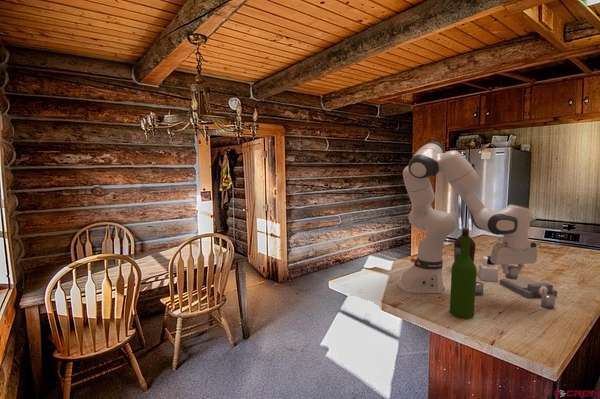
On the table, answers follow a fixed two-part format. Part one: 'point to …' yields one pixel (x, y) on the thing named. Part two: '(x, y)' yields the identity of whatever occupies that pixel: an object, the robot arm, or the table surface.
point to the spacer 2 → (512, 272)
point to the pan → (521, 282)
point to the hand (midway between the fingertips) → (511, 273)
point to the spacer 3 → (548, 301)
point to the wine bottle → (463, 283)
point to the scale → (531, 289)
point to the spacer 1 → (479, 288)
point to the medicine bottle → (488, 270)
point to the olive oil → (458, 245)
